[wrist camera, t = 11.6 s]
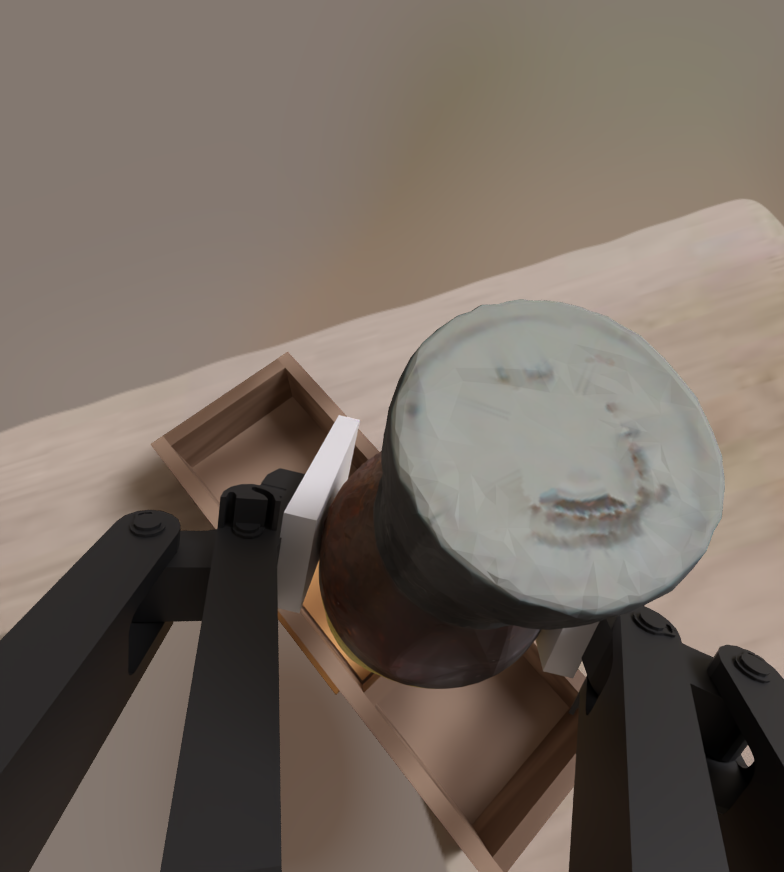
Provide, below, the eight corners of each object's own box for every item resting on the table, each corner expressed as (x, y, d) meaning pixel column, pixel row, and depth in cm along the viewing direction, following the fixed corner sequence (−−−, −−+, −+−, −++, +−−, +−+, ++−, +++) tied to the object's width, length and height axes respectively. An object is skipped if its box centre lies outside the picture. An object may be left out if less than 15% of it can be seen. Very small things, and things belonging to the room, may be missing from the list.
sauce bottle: (424, 697, 22) (804, 997, 4) (302, 634, 23) (125, 634, 4) (476, 564, 25) (859, 359, 6) (364, 509, 25) (419, 174, 7)
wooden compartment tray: (583, 707, 36) (625, 720, 30) (464, 851, 32) (487, 896, 27) (295, 387, 44) (287, 351, 38) (173, 473, 40) (145, 447, 34)
